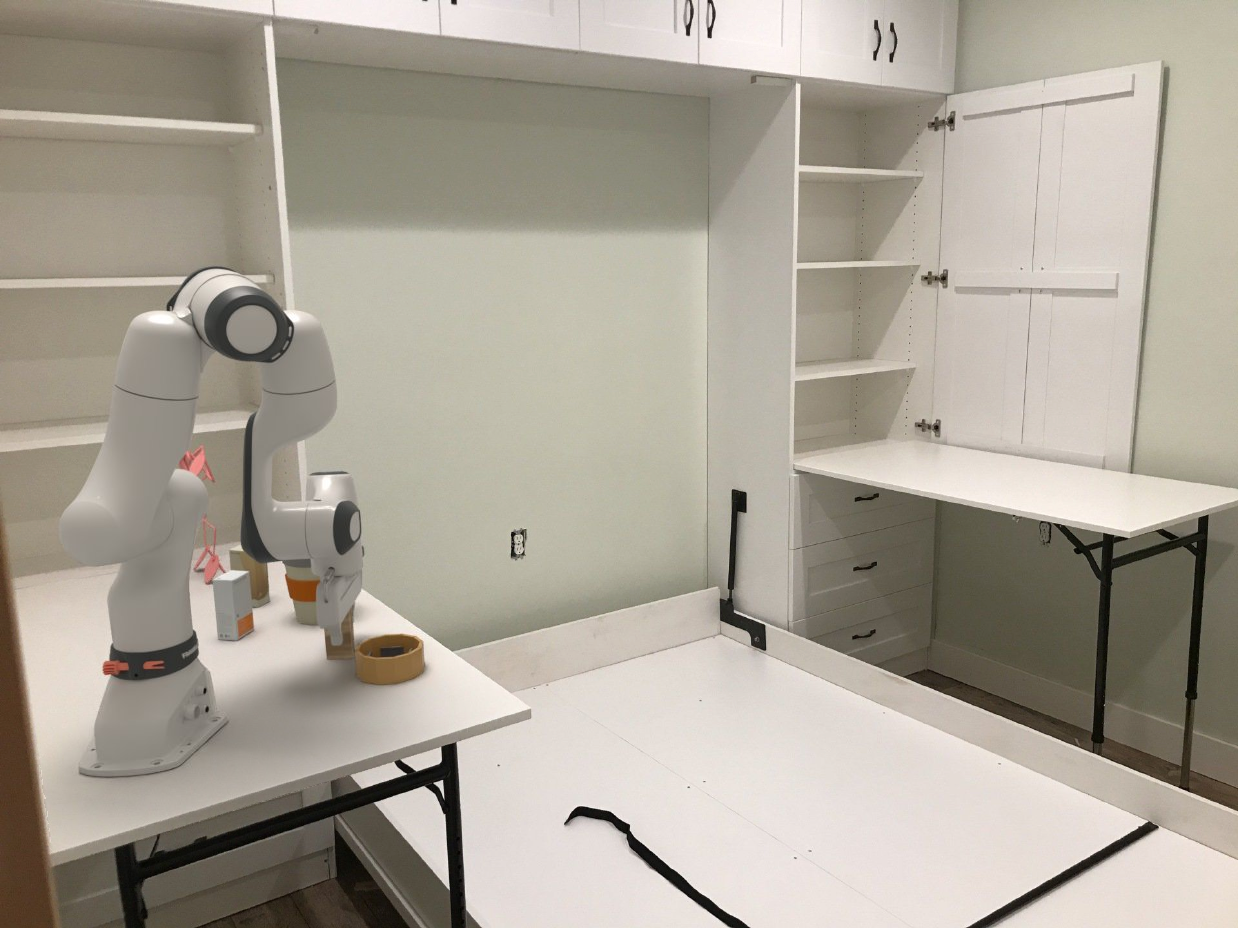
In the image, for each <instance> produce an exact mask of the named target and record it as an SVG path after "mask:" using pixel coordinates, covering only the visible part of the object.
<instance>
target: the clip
mask: <svg viewBox="0 0 1238 928" xmlns="http://www.w3.org/2000/svg"><path fill="white" fill-rule="evenodd" d="M411 651H412V648H410V650H409V652H411ZM380 654H381V658H382V657H395V656H399V655H403V654H404V646H394V647H380ZM368 656H370V657H373V656H372V650H370V651H369V653H368Z"/></svg>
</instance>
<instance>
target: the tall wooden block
mask: <svg viewBox="0 0 1238 928" xmlns="http://www.w3.org/2000/svg"><path fill="white" fill-rule="evenodd" d="M323 631H324V642H325V643H324V644H325V655H326V657H325V658H326V660H338V659H339V660H341V659H342V660H343V659H353V657H354V656H355V649H356V646H355V645H356V644H355V632H354V631H355V629H354V623H353V616H352V607H351V608H350V610H349V612H348V613H347V615H346V617H345V618H344V620H343V622H342V623H341V632H342V633H343V642H342V644H341V645H339V646H333V645H332V644H331V636H330V634H329V632H328V629H327V628H326V629H323Z"/></svg>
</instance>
